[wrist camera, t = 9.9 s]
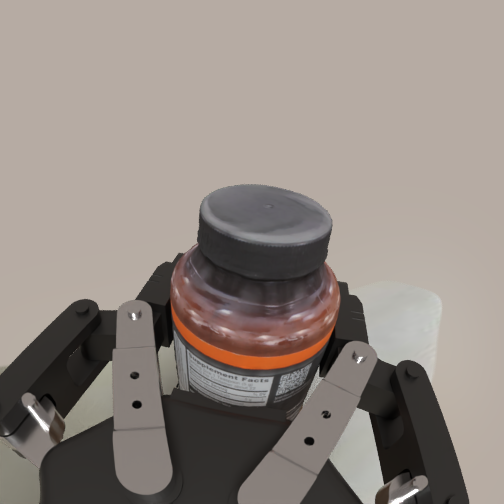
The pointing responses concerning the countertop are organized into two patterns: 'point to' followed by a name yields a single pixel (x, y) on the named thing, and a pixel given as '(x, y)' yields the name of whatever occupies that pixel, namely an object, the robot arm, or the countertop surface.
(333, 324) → the supplement bottle
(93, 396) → the countertop surface
